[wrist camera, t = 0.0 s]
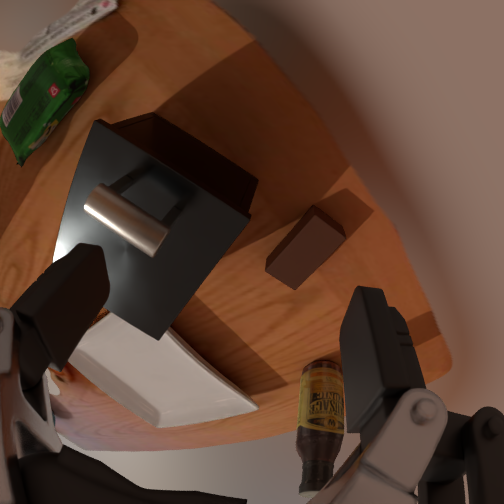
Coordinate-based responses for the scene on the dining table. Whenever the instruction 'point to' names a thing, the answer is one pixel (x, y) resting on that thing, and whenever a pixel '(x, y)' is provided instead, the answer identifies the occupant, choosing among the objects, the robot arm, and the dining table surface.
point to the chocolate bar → (305, 248)
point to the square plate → (156, 375)
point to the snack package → (43, 98)
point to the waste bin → (192, 157)
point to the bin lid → (146, 227)
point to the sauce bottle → (319, 424)
